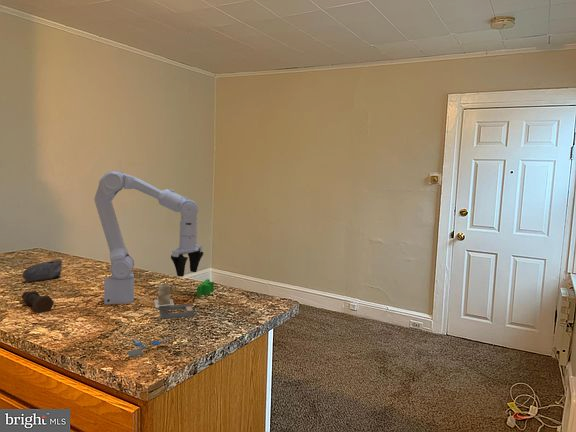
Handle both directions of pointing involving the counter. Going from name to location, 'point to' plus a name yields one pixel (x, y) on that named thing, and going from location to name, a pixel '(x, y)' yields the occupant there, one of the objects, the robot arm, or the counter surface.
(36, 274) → the perforated stone tool
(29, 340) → the counter surface
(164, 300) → the birch peg
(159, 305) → the white rectangular plate
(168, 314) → the plate
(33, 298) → the dark brown elongated lump
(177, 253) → the robot arm
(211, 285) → the pipe clamp
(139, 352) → the key chain
